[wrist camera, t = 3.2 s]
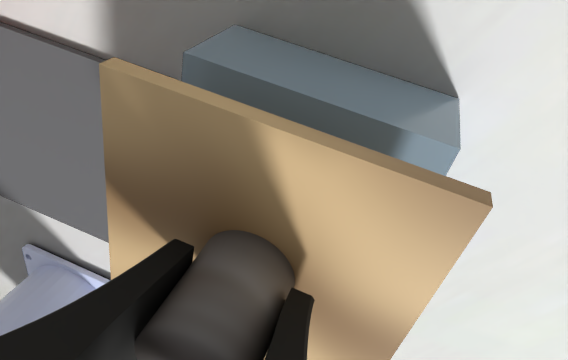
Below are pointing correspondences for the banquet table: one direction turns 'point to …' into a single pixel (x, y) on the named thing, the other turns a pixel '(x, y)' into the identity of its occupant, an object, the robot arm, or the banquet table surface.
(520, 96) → the banquet table surface
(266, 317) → the lid
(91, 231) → the mat
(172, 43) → the banquet table surface
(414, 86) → the blue-grey square box
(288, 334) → the robot arm
